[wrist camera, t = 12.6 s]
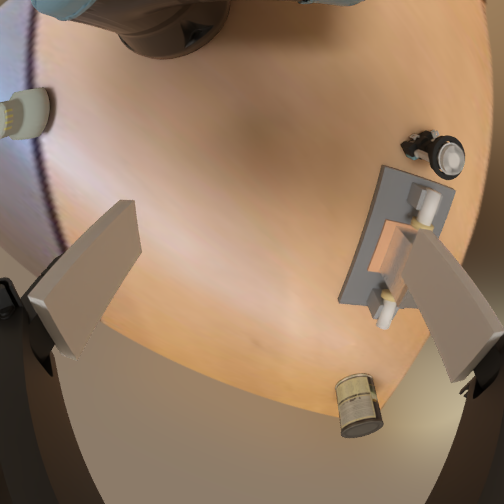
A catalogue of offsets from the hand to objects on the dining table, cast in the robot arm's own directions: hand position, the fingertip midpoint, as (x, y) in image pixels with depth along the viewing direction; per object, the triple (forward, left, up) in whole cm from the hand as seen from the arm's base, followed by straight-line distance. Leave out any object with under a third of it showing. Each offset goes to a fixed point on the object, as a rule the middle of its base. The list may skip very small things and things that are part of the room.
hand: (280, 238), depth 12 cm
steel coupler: (+11, +22, -24) cm, 35 cm away
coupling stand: (+11, +22, -25) cm, 36 cm away
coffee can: (+51, +30, -26) cm, 65 cm away
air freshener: (-6, -41, -26) cm, 48 cm away
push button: (-6, +20, -26) cm, 33 cm away
